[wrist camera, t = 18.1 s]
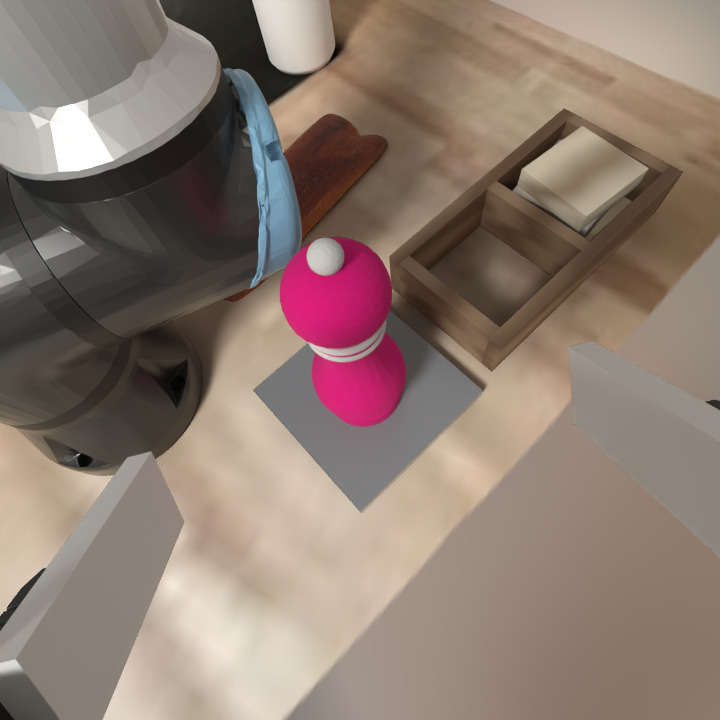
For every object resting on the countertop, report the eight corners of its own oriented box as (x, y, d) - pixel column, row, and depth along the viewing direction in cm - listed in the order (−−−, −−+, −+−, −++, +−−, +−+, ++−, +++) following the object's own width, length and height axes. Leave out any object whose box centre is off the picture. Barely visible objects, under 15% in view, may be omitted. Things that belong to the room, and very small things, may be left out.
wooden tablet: (327, 117, 55) (325, 104, 54) (394, 148, 52) (394, 135, 51) (170, 270, 48) (163, 260, 47) (236, 317, 45) (230, 308, 44)
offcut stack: (497, 216, 46) (508, 170, 40) (553, 167, 48) (571, 116, 42) (570, 266, 43) (593, 223, 37) (627, 211, 45) (657, 162, 39)
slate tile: (256, 393, 41) (253, 390, 40) (369, 296, 44) (368, 291, 43) (361, 513, 36) (360, 511, 35) (481, 394, 39) (483, 390, 38)
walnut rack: (391, 287, 44) (389, 256, 39) (550, 150, 49) (564, 108, 44) (491, 371, 39) (502, 347, 35) (655, 211, 44) (683, 172, 40)
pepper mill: (401, 348, 40) (392, 174, 22) (412, 427, 37) (412, 303, 19) (320, 358, 41) (245, 195, 22) (325, 437, 38) (243, 325, 19)
